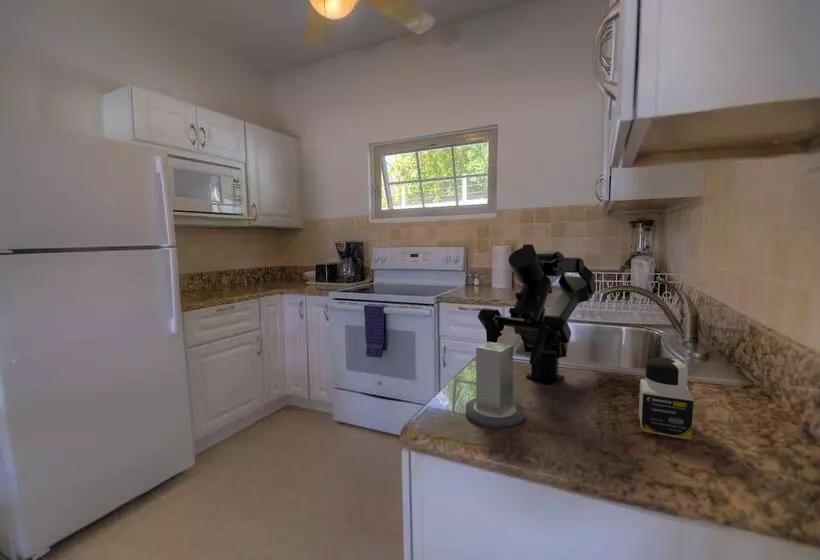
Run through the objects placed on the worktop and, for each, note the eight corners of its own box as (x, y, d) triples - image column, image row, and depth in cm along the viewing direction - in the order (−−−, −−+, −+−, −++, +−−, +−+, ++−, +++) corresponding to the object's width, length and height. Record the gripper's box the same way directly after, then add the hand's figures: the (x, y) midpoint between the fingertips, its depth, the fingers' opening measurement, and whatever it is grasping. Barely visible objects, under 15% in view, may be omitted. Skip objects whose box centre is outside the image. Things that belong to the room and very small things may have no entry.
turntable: (491, 397, 81) (491, 391, 81) (536, 415, 73) (536, 409, 72) (453, 412, 75) (453, 405, 75) (498, 434, 66) (498, 427, 66)
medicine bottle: (641, 431, 66) (644, 363, 65) (638, 414, 72) (641, 352, 71) (691, 440, 63) (695, 369, 62) (684, 422, 69) (688, 357, 68)
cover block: (489, 400, 77) (489, 341, 76) (512, 406, 74) (513, 345, 73) (476, 408, 73) (476, 347, 72) (500, 416, 70) (500, 352, 69)
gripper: (584, 323, 83) (565, 388, 76) (505, 313, 95) (483, 369, 88) (573, 292, 76) (551, 360, 69) (489, 286, 88) (463, 343, 81)
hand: (509, 359), depth 77 cm, fingers open, 9 cm apart
